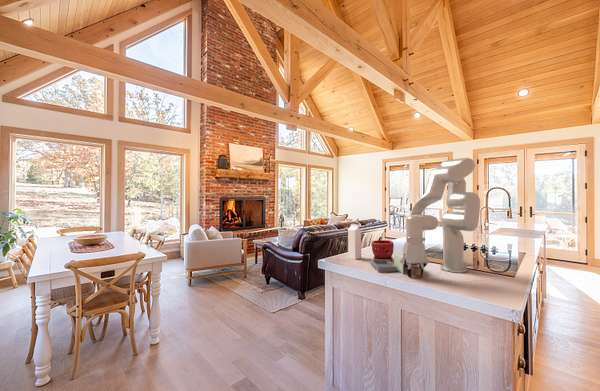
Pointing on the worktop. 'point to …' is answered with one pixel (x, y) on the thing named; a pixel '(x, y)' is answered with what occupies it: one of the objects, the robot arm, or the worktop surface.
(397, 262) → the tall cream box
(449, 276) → the worktop surface
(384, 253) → the plant pot
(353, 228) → the milk
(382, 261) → the tray
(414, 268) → the block
